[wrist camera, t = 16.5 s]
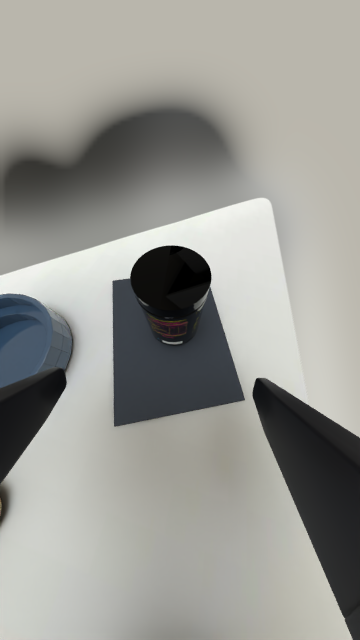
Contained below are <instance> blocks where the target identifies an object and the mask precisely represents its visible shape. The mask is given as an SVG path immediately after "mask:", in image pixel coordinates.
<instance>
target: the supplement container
mask: <svg viewBox="0 0 360 640" xmlns="http://www.w3.org/2000/svg"><path fill="white" fill-rule="evenodd" d="M130 281H131V286H132V289H133V291H134V293H135V296H136V299H137V301H138V303H139V305H140V306H141V309H142V311H143V313H144V316H145V318H146V320H147V323H148V325H149V327H150V330H151V332H152V334H153V336H154V337H155V338H156V339H157V340H158V341H159V342H161V343H163V344H165V345H169V346H179V345H182V344H185V343H187V342H189V341H190V340H191V339H192V338H193V337H194V336H195V334H196V332H197V330H198V327H199V323H200V319H201V316H202V312H203V308H204V305H205V301H206V299H207V296H208V292H209V288H210V284H211V271H210V268H209V265H208V264H207V262H206V261H205V259H204V258H203V257H202V256H201V255H199V254H198V253H196V252H195V251H193V250H191V249H188V248H185V247H181V246H162V247H158V248H155V249H152V250H150V251H148V252H147V253H145V254H144V255H142V256H141V257H140V258H139V259H138V260H137V261H136V263H135V264H134V266H133V268H132V271H131V276H130Z"/></svg>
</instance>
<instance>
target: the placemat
mask: <svg viewBox="0 0 360 640" xmlns="http://www.w3.org/2000/svg"><path fill="white" fill-rule="evenodd" d="M113 362H114V426H120V425H125V424H130V423H135V422H139V421H144V420H149V419H154V418H159V417H164V416H169V415H174V414H179V413H184V412H188V411H193V410H198V409H203V408H208V407H213V406H218V405H223V404H228V403H233V402H237V401H242V400H245V398H244V395H243V392H242V388H241V385H240V382H239V379H238V375H237V372H236V369H235V366H234V362H233V359H232V356H231V353H230V350H229V346H228V343H227V340H226V337H225V333H224V330H223V327H222V324H221V320H220V317H219V314H218V311H217V307H216V304H215V301H214V298H213V294H212V291H211V288H209V292H208V296H207V299H206V301H205V305H204V308H203V312H202V316H201V319H200V323H199V327H198V330H197V332H196V334H195V336H194V337H193V338H192V339H191V340H190V341H189V342H187V343H185V344H182V345H179V346H169V345H165V344H163V343H161V342H159V341H158V340H157V339H156V338H155V337H154V336H153V334H152V332H151V330H150V327H149V325H148V323H147V320H146V318H145V316H144V313H143V311H142V309H141V306H140V305H139V303H138V301H137V299H136V296H135V293H134V291H133V289H132V286H131V281H130V279H123V280H115V281H113Z"/></svg>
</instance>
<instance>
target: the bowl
mask: <svg viewBox="0 0 360 640" xmlns="http://www.w3.org/2000/svg"><path fill="white" fill-rule="evenodd" d="M71 348H72V337H71V332H70V328H69V327H68V325H67V323H66V322H65V320H64V319H63V318H62V317H61V316H59V315H58V314H57V313H55V312H54V311H53V310H51V309H50V308H48V307H47V306H45V305H44V304H42V303H41V302H39V301H38V300H36V299H34V298H31V297H28V296H26V295H21V294H2V295H0V388H2V387H5V386H7V385H10V384H12V383H15V382H17V381H20V380H22V379H25V378H27V377H30V376H32V375H35V374H37V373H40V372H42V371H45V370H47V369H50V368H53V367H57V368H63V369H64V371H65V369H66V366H67V364H68V361H69V358H70V355H71Z"/></svg>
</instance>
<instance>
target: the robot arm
mask: <svg viewBox="0 0 360 640" xmlns="http://www.w3.org/2000/svg"><path fill="white" fill-rule="evenodd" d="M66 383H67V382H66V377H65V372H64V369H63V368H57V367H53V368H50V369H47V370H45V371H42V372H40V373H37V374H35V375H32V376H30V377H27V378H25V379H22V380H20V381H17V382H15V383H12V384H10V385H7V386H5V387H2V388H0V484H1V483H2V481H3V480H4V479H5V477H6V476H7V474H8V473H9V472H10V470H11V469H12V467H13V466H14V465H15V463H16V462H17V460H18V459H19V458H20V456H21V455H22V453H23V452H24V451H25V449H26V448H27V446H28V445H29V444H30V442H31V441H32V439H33V438H34V437H35V435H36V434H37V432H38V431H39V430H40V428H41V427H42V425H43V424H44V422H45V421H46V419H47V418H48V416H49V415H50V413H51V411H52V410H53V408H54V406H55V404H56V403H57V401H58V399H59V398H60V396H61V394H62V393H63V391H64V389H65V387H66ZM253 399H254V402H255V405H256V408H257V411H258V414H259V417H260V421H261V424H262V427H263V430H264V432H265V435H266V437H267V440H268V442H269V444H270V447H271V449H272V451H273V454H274V456H275V458H276V461H277V463H278V465H279V468H280V470H281V472H282V475H283V477H284V479H285V482H286V484H287V486H288V489H289V491H290V493H291V496H292V498H293V500H294V503H295V505H296V507H297V510H298V512H299V514H300V517H301V519H302V521H303V524H304V526H305V528H306V531H307V533H308V535H309V538H310V540H311V542H312V545H313V547H314V549H315V552H316V554H317V556H318V559H319V561H320V563H321V566H322V568H323V570H324V573H325V575H326V577H327V580H328V582H329V584H330V587H331V589H332V591H333V594H334V596H335V598H336V601H337V603H338V605H339V608H340V610H341V612H342V615H343V616H344V618H345V622H346V624H347V627H348V629H349V631H350V634H351V636H352V638H353V640H360V438H359V437H358V436H356V435H354V434H353V433H351V432H350V431H348V430H347V429H345V428H343V427H342V426H340V425H339V424H337V423H335V422H334V421H332V420H331V419H329V418H327V417H326V416H324V415H323V414H321V413H320V412H318V411H317V410H315V409H313V408H312V407H310V406H309V405H307V404H306V403H304V402H302V401H301V400H299V399H298V398H296V397H295V396H293V395H291V394H290V393H288V392H287V391H285V390H284V389H282V388H280V387H279V386H277V385H276V384H274V383H273V382H271V381H269V380H268V379H266V378H257V379H256V381H255V384H254V388H253Z"/></svg>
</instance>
